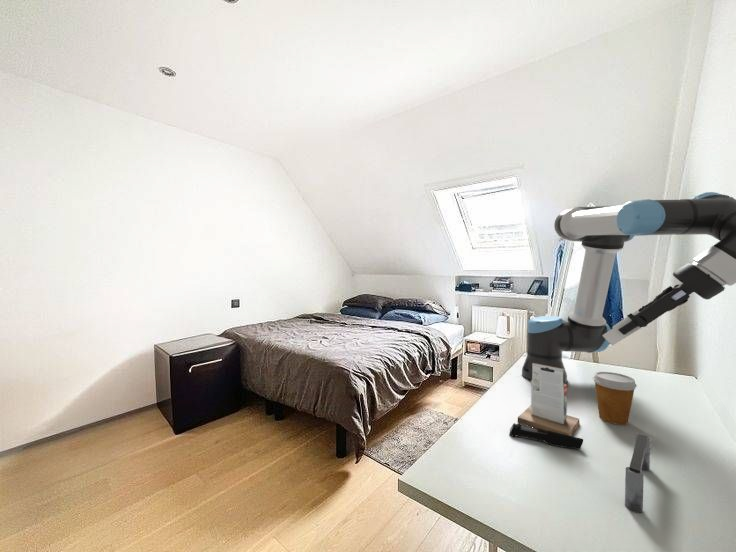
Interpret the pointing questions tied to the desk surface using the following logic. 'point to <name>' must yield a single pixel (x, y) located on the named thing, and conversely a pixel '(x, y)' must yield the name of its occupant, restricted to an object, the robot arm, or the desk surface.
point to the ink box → (548, 394)
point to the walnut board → (549, 423)
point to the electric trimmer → (546, 436)
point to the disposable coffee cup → (614, 396)
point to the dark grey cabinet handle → (637, 473)
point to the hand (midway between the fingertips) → (612, 335)
